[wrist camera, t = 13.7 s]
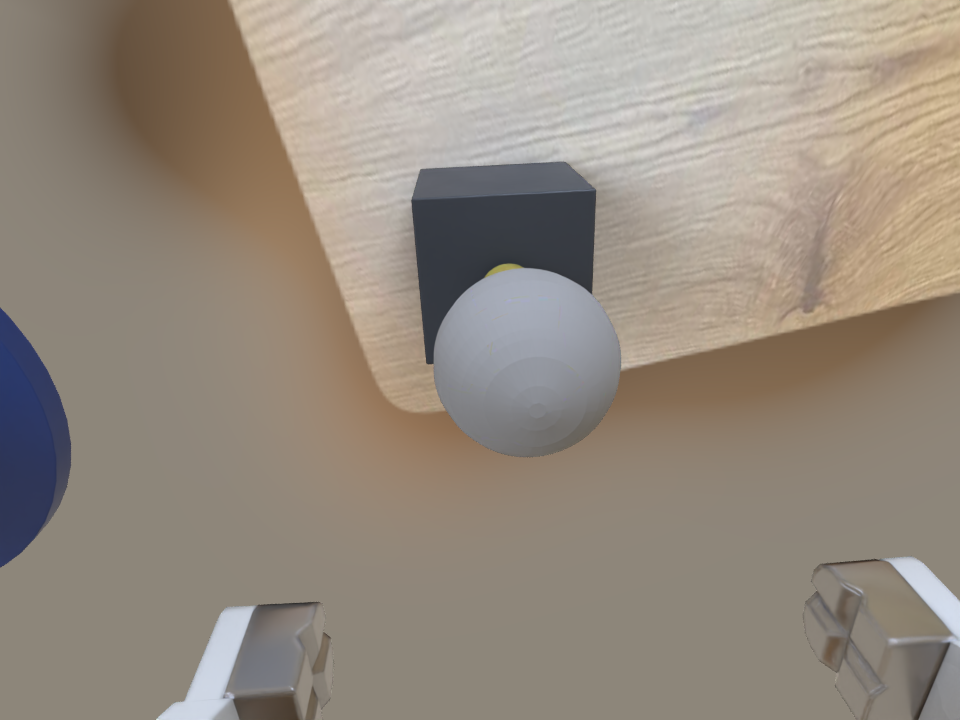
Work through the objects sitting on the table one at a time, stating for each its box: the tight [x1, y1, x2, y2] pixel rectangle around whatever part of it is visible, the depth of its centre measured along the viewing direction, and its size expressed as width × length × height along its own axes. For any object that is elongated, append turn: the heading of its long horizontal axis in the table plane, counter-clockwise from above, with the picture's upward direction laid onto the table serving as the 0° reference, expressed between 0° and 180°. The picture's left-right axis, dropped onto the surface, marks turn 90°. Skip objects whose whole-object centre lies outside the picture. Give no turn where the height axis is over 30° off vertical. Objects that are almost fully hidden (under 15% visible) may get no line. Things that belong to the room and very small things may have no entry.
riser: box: [411, 162, 596, 364], centre depth 28 cm, size 7×7×7 cm
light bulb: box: [434, 264, 621, 457], centre depth 20 cm, size 6×6×10 cm
